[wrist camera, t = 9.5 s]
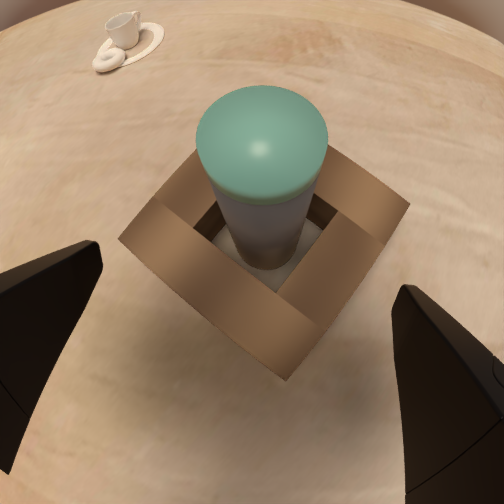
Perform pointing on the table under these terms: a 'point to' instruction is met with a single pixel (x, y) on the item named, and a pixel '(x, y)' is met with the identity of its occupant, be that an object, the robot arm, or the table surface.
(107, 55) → the teacup and saucer
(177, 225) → the socket block
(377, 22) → the table surface
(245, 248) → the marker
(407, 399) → the robot arm
